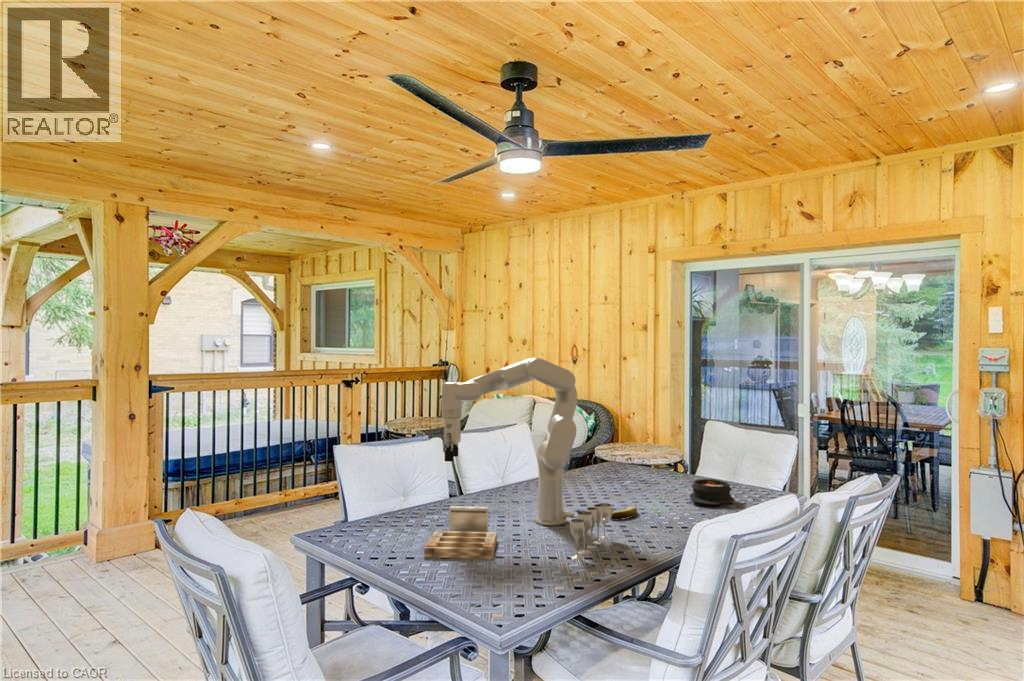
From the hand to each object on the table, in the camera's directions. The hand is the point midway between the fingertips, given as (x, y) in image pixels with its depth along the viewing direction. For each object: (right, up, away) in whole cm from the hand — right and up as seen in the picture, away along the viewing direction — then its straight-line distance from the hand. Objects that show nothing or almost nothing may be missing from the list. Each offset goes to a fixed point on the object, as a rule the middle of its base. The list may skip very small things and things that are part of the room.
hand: (451, 458), depth 226 cm
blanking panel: (+7, -26, -9) cm, 28 cm away
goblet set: (+51, -26, -24) cm, 62 cm away
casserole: (+112, -27, +37) cm, 121 cm away
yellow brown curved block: (+69, -27, +14) cm, 75 cm away
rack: (+6, -25, -26) cm, 37 cm away
